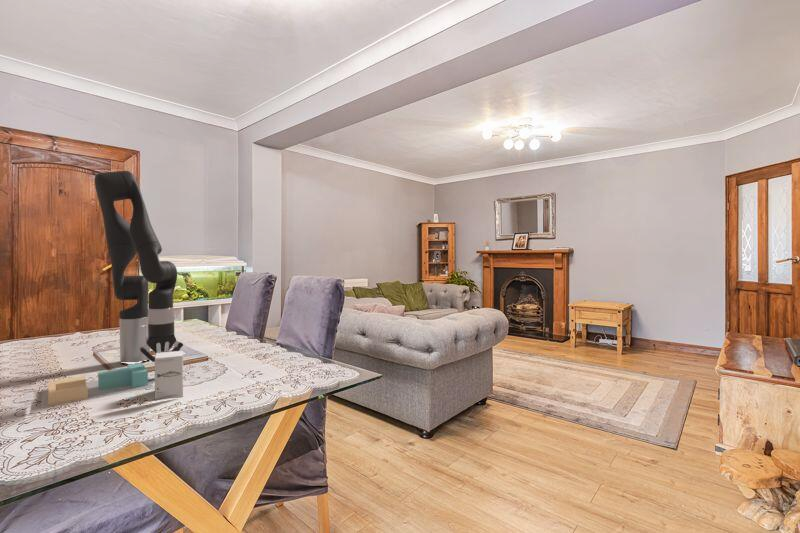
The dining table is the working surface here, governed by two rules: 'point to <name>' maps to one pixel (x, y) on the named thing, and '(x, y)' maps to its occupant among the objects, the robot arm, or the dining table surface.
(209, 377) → the dining table surface
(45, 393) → the slot board
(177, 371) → the supplement box
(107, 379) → the tee block
